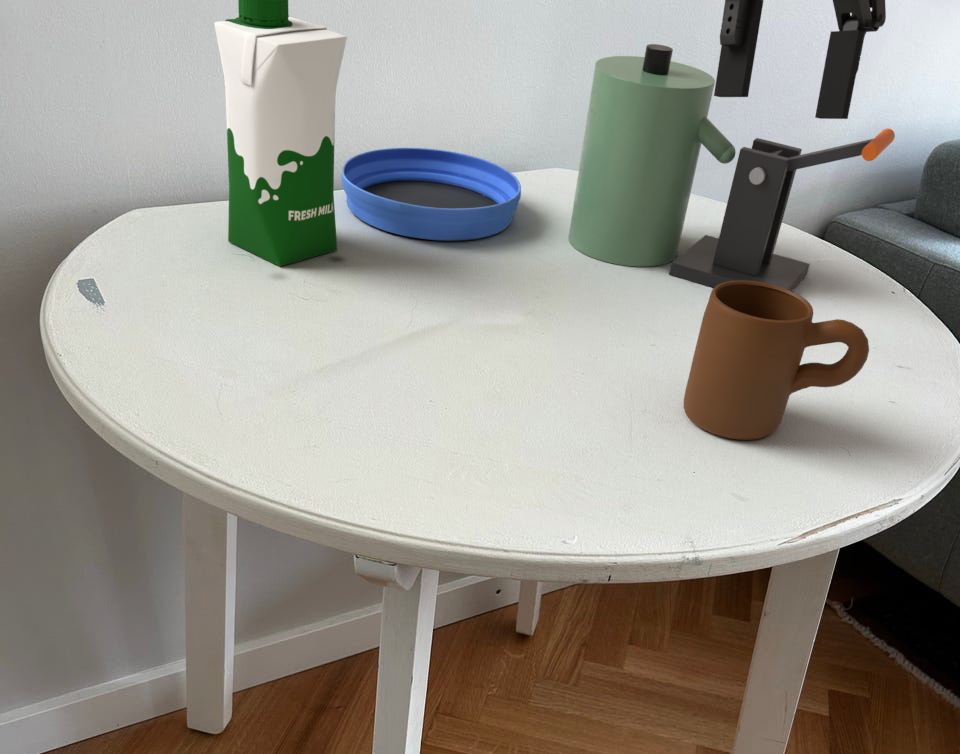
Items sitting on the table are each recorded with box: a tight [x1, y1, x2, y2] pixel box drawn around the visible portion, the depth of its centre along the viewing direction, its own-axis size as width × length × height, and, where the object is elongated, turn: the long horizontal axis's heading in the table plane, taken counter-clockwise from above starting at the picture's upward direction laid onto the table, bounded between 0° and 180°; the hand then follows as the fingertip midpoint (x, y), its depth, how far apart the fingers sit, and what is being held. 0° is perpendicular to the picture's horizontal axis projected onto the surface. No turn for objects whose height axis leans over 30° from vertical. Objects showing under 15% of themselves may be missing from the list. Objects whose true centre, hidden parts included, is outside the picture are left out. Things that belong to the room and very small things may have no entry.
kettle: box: [568, 43, 737, 268], centre depth 105 cm, size 15×11×18 cm
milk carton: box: [213, 0, 348, 267], centre depth 96 cm, size 9×9×20 cm
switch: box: [771, 128, 896, 177], centre depth 100 cm, size 12×7×2 cm, turn 62°
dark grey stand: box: [668, 137, 811, 292], centre depth 105 cm, size 11×10×12 cm
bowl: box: [340, 147, 522, 242], centre depth 112 cm, size 18×18×4 cm
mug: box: [683, 281, 870, 441], centre depth 82 cm, size 12×8×9 cm, turn 73°
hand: (783, 108), depth 90 cm, fingers open, 13 cm apart
